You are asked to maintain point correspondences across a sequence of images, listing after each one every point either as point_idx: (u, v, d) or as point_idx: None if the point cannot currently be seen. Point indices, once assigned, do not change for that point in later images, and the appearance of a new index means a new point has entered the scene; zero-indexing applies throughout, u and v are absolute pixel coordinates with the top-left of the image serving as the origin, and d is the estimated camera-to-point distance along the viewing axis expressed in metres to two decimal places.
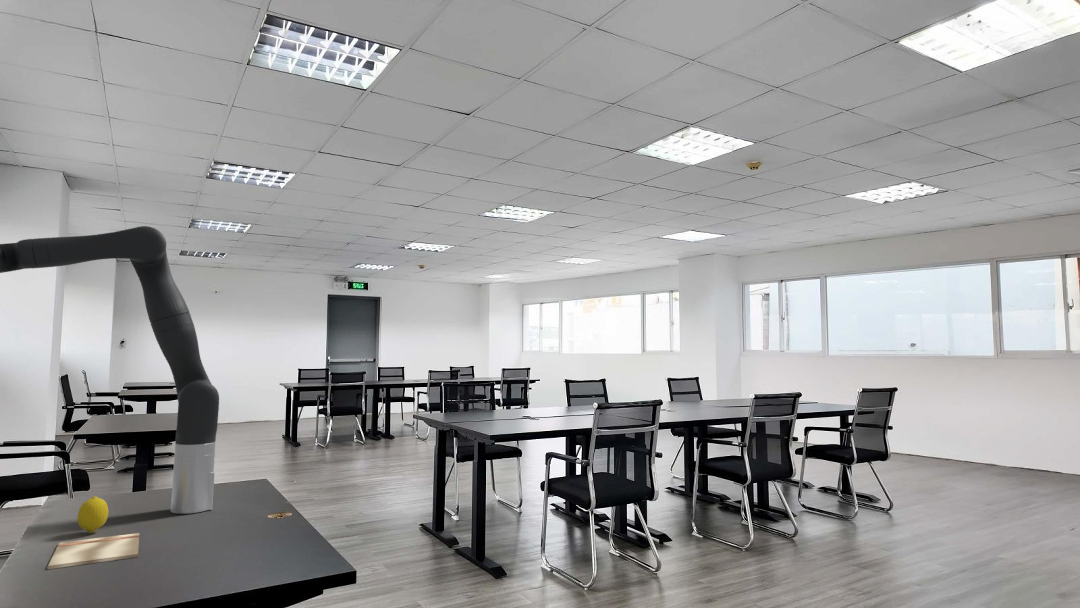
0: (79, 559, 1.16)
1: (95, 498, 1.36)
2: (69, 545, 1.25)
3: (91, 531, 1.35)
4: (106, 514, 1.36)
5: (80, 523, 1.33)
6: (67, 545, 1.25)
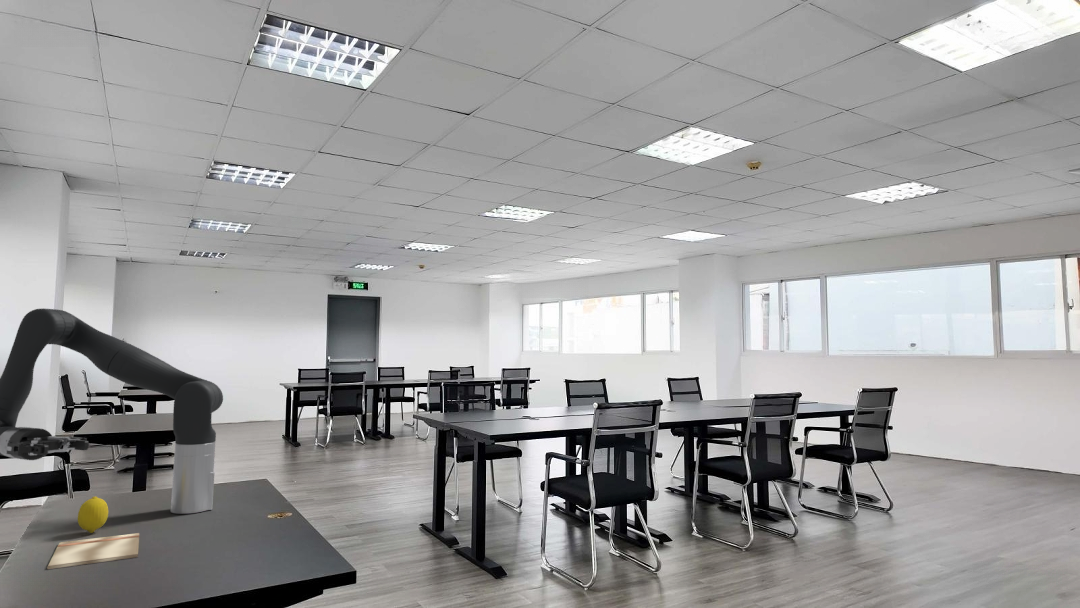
0: (79, 559, 1.16)
1: (95, 498, 1.36)
2: (69, 545, 1.25)
3: (91, 531, 1.35)
4: (106, 514, 1.36)
5: (80, 523, 1.33)
6: (67, 545, 1.25)
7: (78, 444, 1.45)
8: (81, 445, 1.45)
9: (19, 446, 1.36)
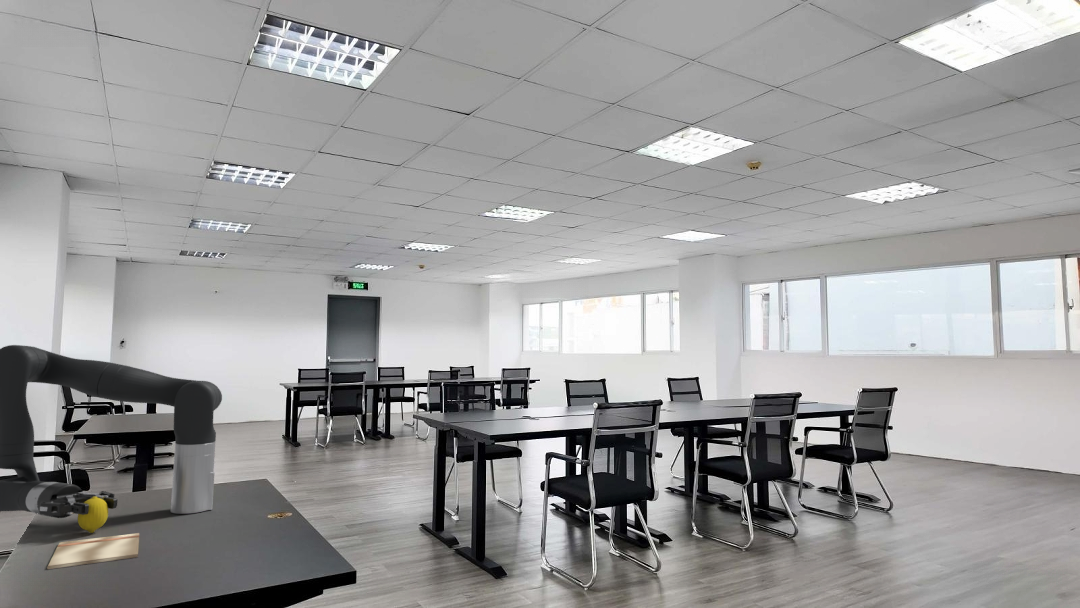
0: (79, 559, 1.16)
1: (95, 498, 1.36)
2: (69, 545, 1.25)
3: (91, 531, 1.35)
4: (106, 514, 1.36)
5: (80, 523, 1.33)
6: (67, 545, 1.25)
7: (106, 502, 1.38)
8: (109, 503, 1.38)
9: (60, 506, 1.31)
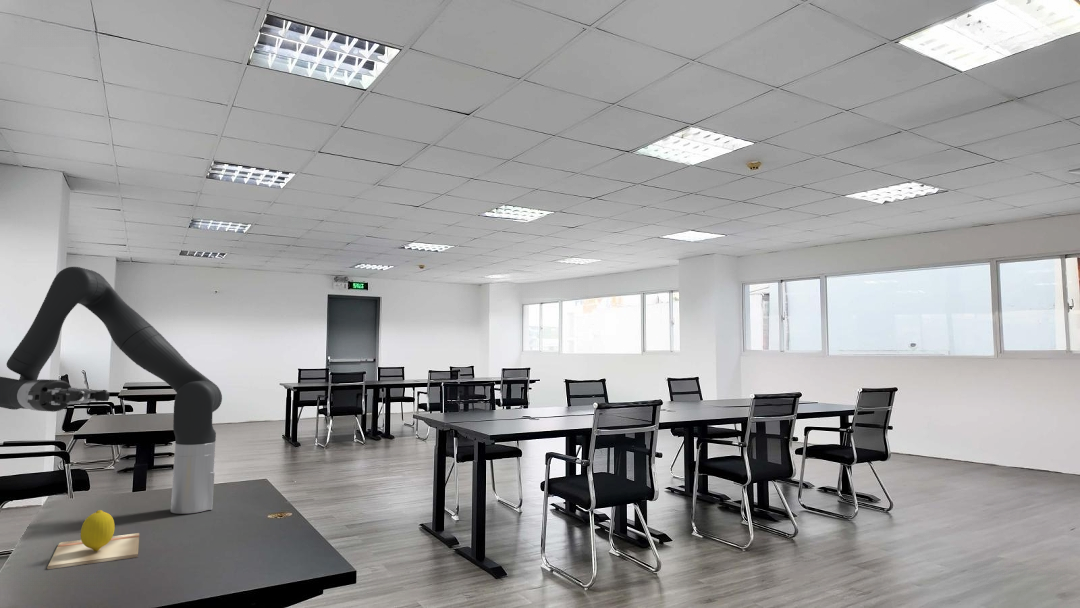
0: (79, 559, 1.16)
1: (100, 512, 1.22)
2: (69, 545, 1.25)
3: (96, 549, 1.21)
4: (112, 530, 1.22)
5: (83, 540, 1.19)
6: (67, 545, 1.25)
7: (99, 395, 1.44)
8: (102, 396, 1.43)
9: (40, 394, 1.35)
